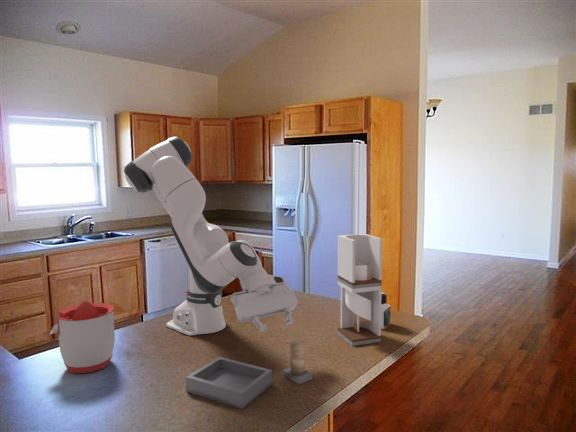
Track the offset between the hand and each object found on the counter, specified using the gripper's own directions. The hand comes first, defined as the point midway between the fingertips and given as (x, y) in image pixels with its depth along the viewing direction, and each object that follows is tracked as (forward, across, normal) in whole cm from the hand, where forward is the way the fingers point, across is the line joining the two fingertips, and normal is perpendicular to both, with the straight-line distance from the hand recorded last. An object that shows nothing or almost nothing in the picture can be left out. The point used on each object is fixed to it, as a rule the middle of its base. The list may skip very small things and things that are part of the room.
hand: (277, 327), depth 126 cm
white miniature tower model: (+8, +35, +10) cm, 38 cm away
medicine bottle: (+6, +50, +12) cm, 52 cm away
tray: (+9, -17, +8) cm, 21 cm away
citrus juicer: (-18, -43, +36) cm, 59 cm away
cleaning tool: (+14, +1, +3) cm, 15 cm away
